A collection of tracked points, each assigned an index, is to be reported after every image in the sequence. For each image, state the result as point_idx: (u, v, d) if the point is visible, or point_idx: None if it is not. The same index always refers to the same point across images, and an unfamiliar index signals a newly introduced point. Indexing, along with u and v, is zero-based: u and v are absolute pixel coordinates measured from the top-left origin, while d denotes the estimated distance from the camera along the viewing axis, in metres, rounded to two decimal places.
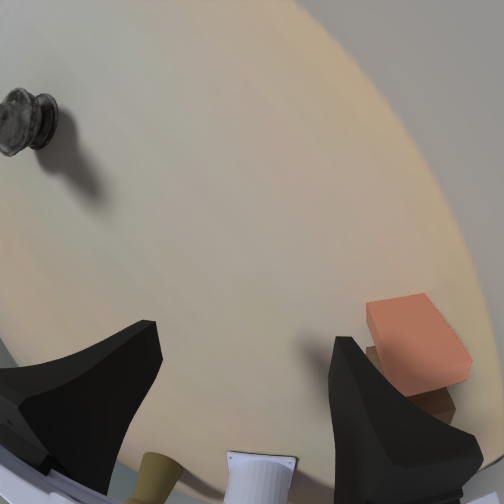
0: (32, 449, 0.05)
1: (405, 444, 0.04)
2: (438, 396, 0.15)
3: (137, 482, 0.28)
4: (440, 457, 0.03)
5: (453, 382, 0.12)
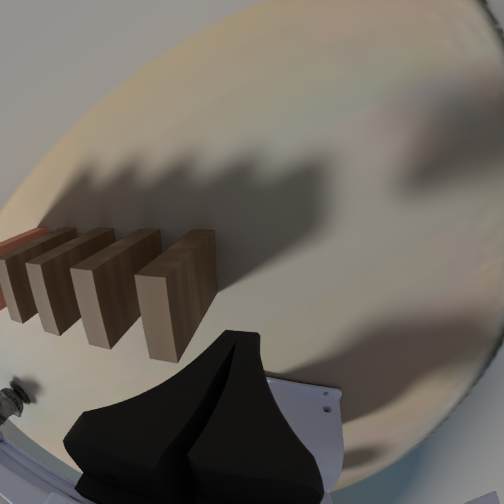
0: (144, 502, 0.04)
1: (222, 442, 0.05)
2: None
3: None
4: (244, 467, 0.04)
5: None
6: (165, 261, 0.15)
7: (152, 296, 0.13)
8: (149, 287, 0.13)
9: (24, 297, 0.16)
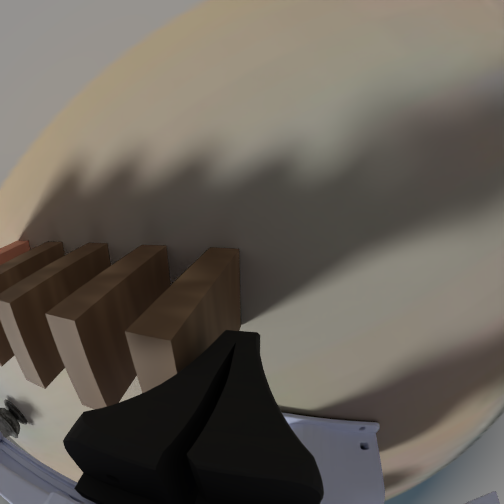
0: (144, 502, 0.04)
1: (222, 442, 0.05)
2: None
3: None
4: (244, 467, 0.04)
5: None
6: (171, 305, 0.10)
7: (152, 362, 0.08)
8: (147, 350, 0.08)
9: (0, 334, 0.12)
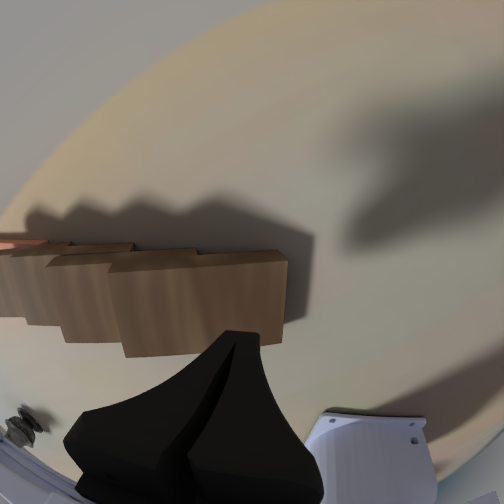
0: (144, 502, 0.04)
1: (222, 443, 0.05)
2: None
3: None
4: (244, 467, 0.04)
5: None
6: (149, 263, 0.13)
7: None
8: None
9: None
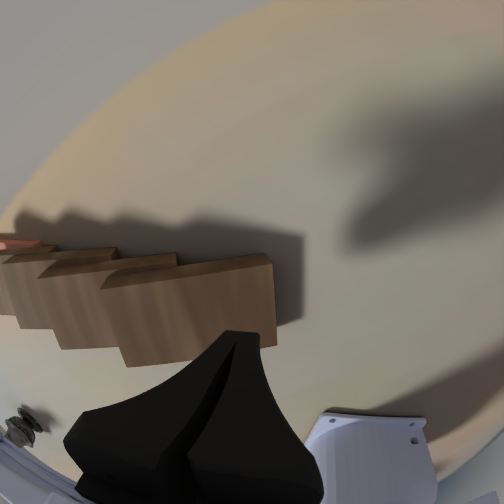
0: (144, 502, 0.04)
1: (222, 443, 0.05)
2: None
3: None
4: (244, 467, 0.04)
5: None
6: (139, 277, 0.14)
7: None
8: None
9: None
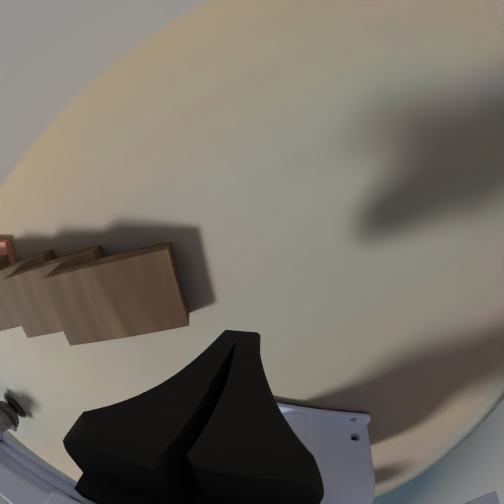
0: (143, 502, 0.04)
1: (222, 442, 0.05)
2: None
3: None
4: (244, 467, 0.04)
5: None
6: (72, 268, 0.16)
7: None
8: None
9: None
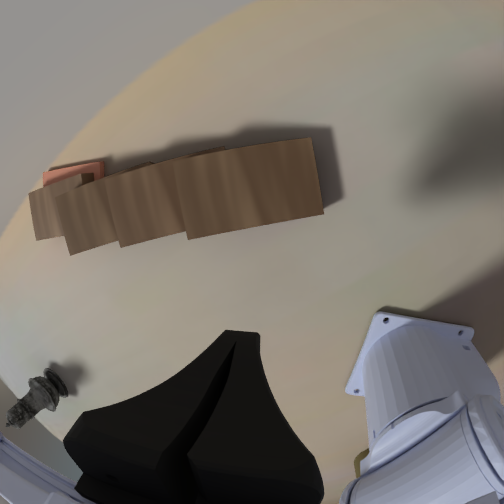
0: (144, 502, 0.04)
1: (222, 443, 0.05)
2: None
3: None
4: (244, 467, 0.04)
5: None
6: None
7: None
8: None
9: (38, 223, 0.23)
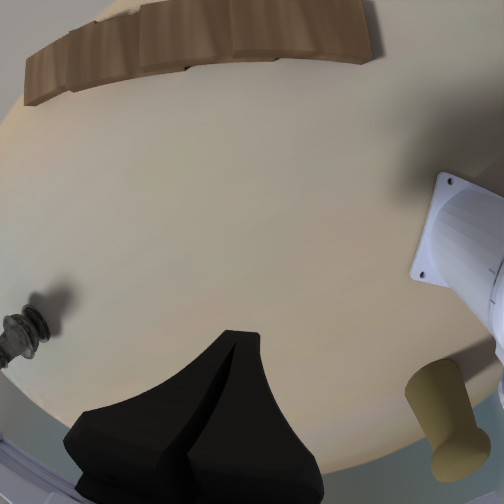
0: (144, 502, 0.04)
1: (222, 442, 0.05)
2: None
3: (425, 433, 0.18)
4: (244, 467, 0.04)
5: None
6: None
7: (229, 3, 0.13)
8: None
9: (30, 85, 0.17)
